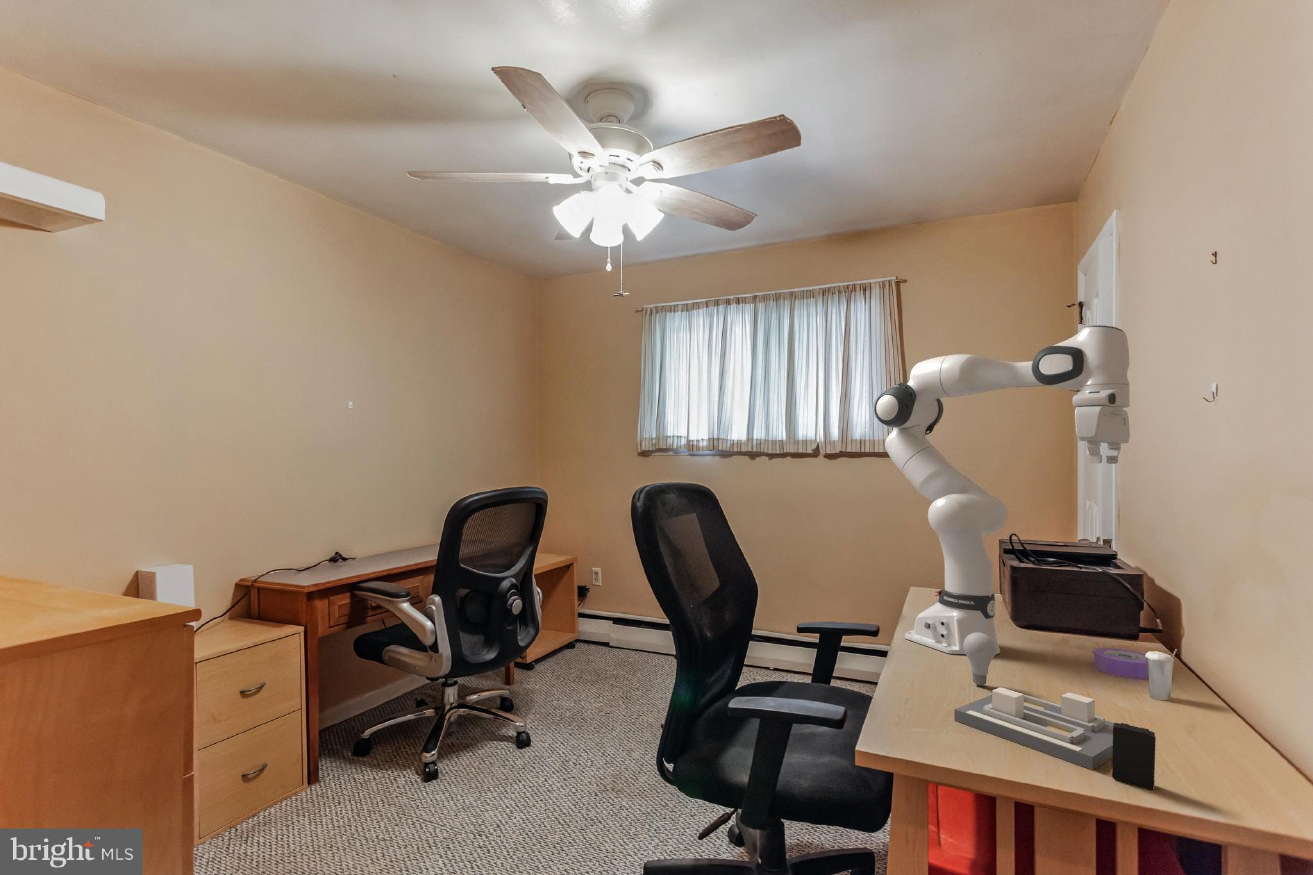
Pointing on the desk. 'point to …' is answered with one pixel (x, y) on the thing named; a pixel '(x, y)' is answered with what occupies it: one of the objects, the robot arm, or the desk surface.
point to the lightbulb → (979, 655)
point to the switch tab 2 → (1078, 707)
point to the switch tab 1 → (1008, 702)
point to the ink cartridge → (1133, 755)
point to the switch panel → (1044, 730)
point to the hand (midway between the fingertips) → (1104, 463)
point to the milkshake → (1159, 674)
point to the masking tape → (1121, 662)
